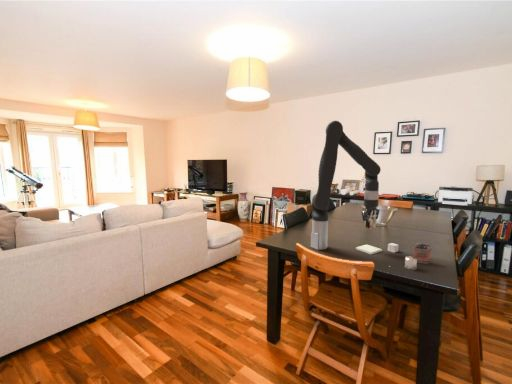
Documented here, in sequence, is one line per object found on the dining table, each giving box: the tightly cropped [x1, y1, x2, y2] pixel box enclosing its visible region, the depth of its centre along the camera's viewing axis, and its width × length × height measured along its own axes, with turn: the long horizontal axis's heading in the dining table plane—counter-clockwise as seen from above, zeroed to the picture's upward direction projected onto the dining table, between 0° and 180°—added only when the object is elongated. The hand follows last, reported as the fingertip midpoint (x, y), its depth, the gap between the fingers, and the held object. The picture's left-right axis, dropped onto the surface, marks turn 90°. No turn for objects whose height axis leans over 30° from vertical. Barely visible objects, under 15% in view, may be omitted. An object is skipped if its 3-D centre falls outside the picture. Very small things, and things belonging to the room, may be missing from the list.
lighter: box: [412, 242, 432, 265], centre depth 131 cm, size 8×3×10 cm, turn 69°
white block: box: [387, 242, 399, 253], centre depth 147 cm, size 4×4×4 cm
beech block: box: [364, 218, 377, 230], centre depth 147 cm, size 4×4×5 cm
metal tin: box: [404, 255, 418, 271], centre depth 124 cm, size 5×5×5 cm
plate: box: [355, 244, 383, 255], centre depth 149 cm, size 10×10×1 cm
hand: (370, 227), depth 147 cm, fingers closed on beech block, 4 cm apart
